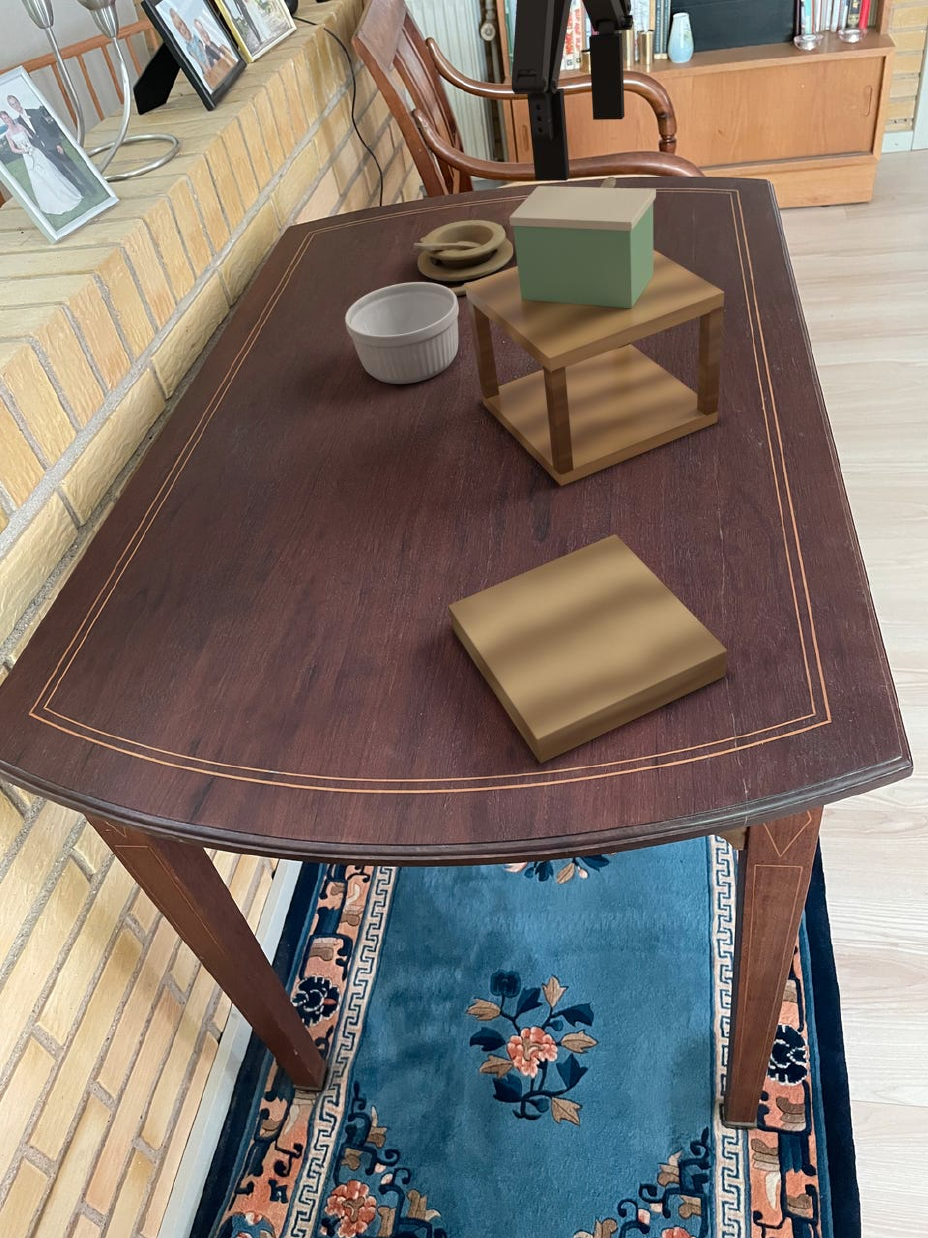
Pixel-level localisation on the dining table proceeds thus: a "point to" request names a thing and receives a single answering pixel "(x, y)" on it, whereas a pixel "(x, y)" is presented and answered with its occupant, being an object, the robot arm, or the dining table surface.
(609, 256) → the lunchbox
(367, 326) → the ramekin
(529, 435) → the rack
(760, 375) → the dining table surface
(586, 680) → the wooden square board
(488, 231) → the tableware set
